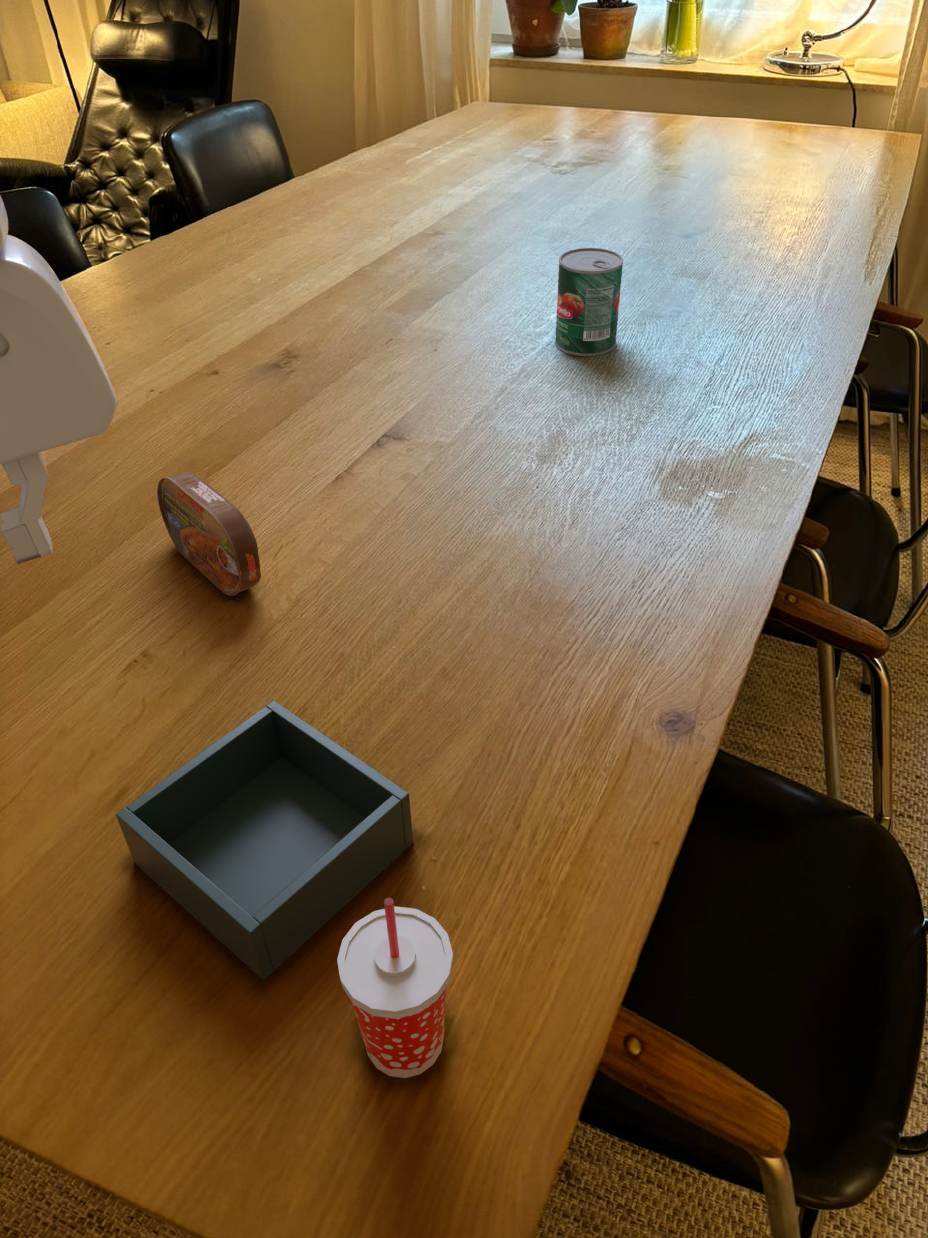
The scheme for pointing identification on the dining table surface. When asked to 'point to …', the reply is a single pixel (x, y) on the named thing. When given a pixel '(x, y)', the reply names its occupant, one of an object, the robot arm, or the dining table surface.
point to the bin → (268, 834)
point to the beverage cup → (398, 986)
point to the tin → (209, 532)
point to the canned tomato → (588, 301)
